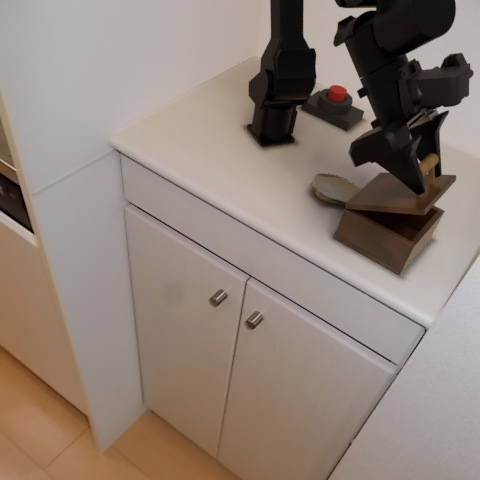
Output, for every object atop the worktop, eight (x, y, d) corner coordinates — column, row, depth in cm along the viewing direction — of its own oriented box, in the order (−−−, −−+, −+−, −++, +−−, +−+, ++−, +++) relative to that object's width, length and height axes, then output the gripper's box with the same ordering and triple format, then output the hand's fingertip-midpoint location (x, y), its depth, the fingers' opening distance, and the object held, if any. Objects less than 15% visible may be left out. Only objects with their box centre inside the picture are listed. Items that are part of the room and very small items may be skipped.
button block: (361, 119, 98) (367, 101, 96) (346, 131, 95) (352, 113, 92) (317, 98, 101) (321, 81, 99) (300, 109, 98) (304, 91, 95)
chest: (430, 239, 78) (445, 210, 74) (399, 275, 72) (414, 246, 68) (368, 206, 81) (379, 177, 77) (333, 238, 75) (344, 208, 71)
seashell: (360, 213, 82) (336, 175, 85) (371, 200, 80) (346, 161, 83) (321, 218, 78) (297, 178, 81) (331, 205, 76) (306, 163, 78)
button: (347, 99, 96) (350, 89, 95) (339, 104, 94) (341, 95, 93) (332, 92, 97) (335, 83, 96) (324, 97, 95) (326, 88, 94)
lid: (456, 180, 70) (456, 145, 68) (424, 215, 64) (423, 178, 61) (380, 177, 77) (378, 145, 74) (345, 208, 71) (341, 174, 68)
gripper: (410, 55, 51) (465, 199, 56) (475, 13, 62) (517, 137, 66) (322, 101, 59) (376, 223, 64) (393, 57, 70) (435, 164, 75)
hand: (429, 185), depth 67 cm, fingers closed on lid, 5 cm apart
